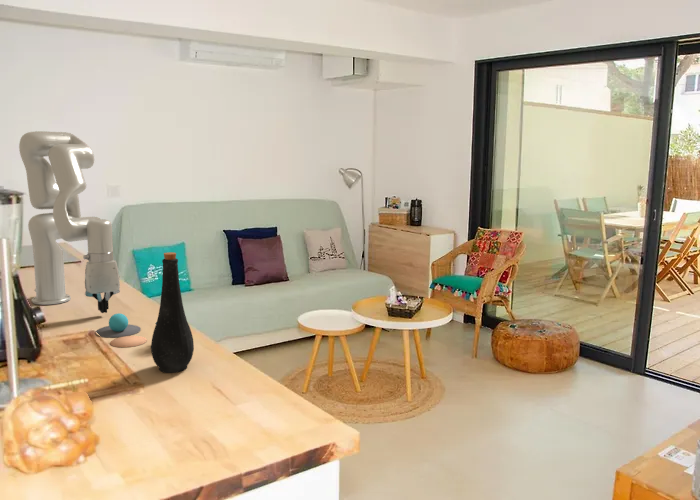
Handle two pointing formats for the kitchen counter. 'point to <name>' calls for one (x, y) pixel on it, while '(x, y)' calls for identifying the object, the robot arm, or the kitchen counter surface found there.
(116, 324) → the ball
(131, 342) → the far mark
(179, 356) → the bottle
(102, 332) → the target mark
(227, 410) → the kitchen counter surface
